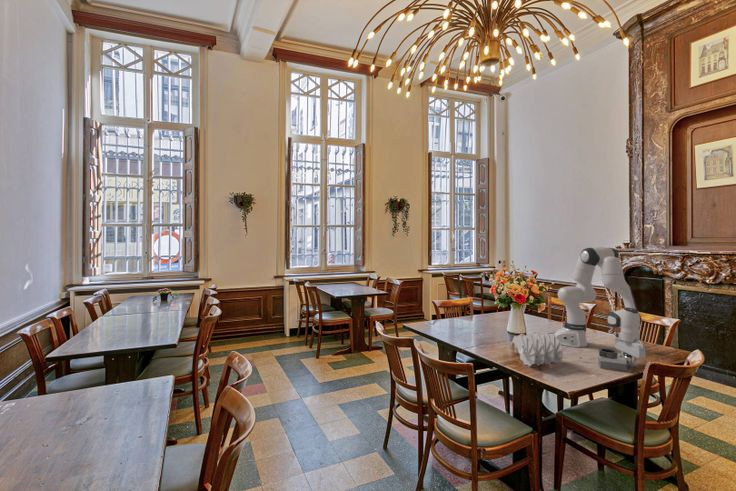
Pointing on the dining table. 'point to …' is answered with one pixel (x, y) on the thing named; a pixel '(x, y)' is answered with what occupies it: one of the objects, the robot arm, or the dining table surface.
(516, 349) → the teacup with lid
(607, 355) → the grey stacked block
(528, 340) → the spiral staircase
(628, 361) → the lens
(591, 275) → the robot arm
